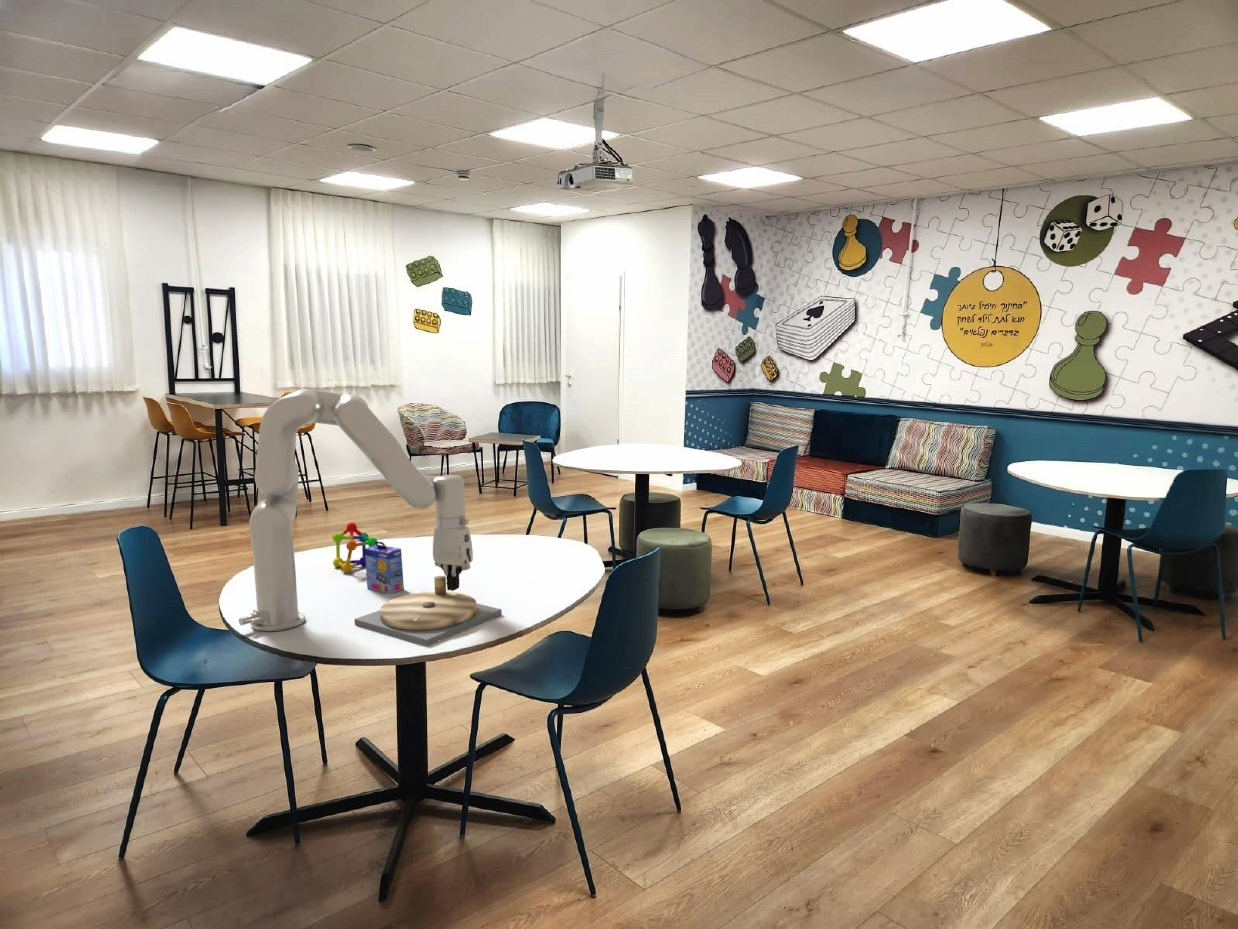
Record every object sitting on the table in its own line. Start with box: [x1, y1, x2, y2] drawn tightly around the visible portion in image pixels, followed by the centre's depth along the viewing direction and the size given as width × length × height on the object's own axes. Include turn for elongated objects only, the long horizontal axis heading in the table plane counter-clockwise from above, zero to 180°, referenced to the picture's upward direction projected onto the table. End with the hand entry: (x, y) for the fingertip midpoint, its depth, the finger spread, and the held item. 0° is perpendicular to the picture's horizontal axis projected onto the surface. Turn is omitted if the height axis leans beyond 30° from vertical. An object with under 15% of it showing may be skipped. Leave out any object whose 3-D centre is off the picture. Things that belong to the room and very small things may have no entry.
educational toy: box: [332, 522, 378, 574], centre depth 256 cm, size 16×13×15 cm
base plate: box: [354, 603, 503, 647], centre depth 209 cm, size 26×26×2 cm
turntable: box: [379, 575, 478, 630], centre depth 208 cm, size 24×24×6 cm
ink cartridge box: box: [365, 540, 405, 595], centre depth 233 cm, size 10×6×14 cm, turn 59°
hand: (453, 589), depth 217 cm, fingers closed
